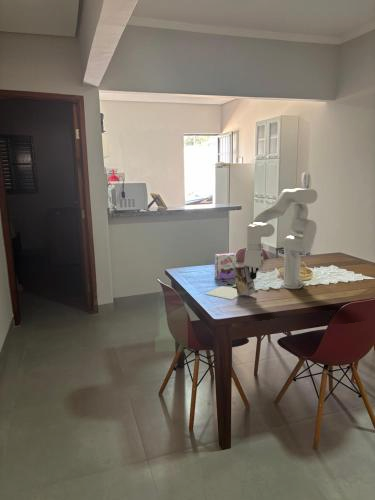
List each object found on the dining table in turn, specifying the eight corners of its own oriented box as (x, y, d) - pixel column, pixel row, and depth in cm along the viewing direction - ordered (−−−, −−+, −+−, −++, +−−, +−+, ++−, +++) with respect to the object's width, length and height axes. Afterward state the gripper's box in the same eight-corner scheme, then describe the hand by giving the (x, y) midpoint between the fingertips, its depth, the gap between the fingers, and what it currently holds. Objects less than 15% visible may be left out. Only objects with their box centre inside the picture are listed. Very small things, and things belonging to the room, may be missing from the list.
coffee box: (256, 292, 213) (251, 265, 212) (249, 295, 208) (244, 267, 208) (243, 292, 219) (239, 266, 219) (236, 295, 215) (232, 268, 214)
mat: (247, 291, 223) (247, 290, 223) (231, 299, 209) (231, 299, 209) (221, 286, 233) (221, 285, 233) (205, 294, 219) (205, 293, 219)
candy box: (216, 279, 248) (216, 255, 245) (214, 277, 254) (214, 253, 250) (236, 278, 251) (236, 254, 247) (233, 275, 256) (233, 252, 253)
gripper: (269, 247, 204) (268, 279, 208) (244, 244, 213) (244, 275, 217) (263, 249, 198) (262, 282, 202) (238, 246, 207) (238, 278, 211)
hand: (253, 278), depth 209 cm, fingers closed
